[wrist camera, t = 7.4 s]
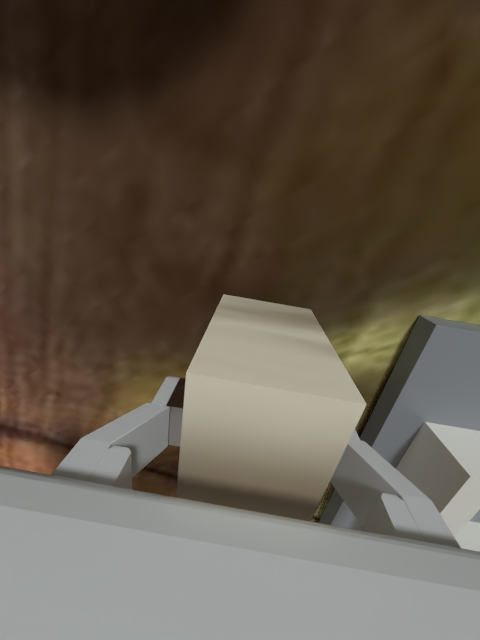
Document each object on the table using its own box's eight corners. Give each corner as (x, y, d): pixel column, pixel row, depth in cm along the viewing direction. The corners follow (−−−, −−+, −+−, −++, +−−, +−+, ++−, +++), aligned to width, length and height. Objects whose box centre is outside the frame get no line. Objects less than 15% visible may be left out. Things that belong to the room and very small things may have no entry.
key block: (223, 294, 11) (186, 372, 5) (310, 309, 11) (366, 404, 5) (207, 411, 13) (172, 543, 8) (276, 423, 13) (289, 564, 8)
